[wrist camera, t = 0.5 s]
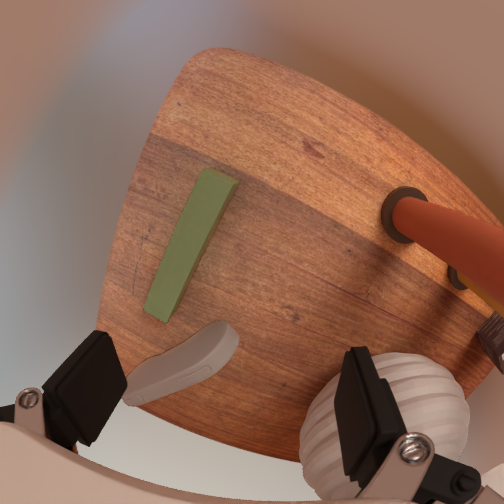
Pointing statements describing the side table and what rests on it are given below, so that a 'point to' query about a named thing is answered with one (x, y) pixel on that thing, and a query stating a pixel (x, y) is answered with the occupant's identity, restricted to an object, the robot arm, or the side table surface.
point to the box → (493, 339)
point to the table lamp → (413, 413)
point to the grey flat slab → (182, 364)
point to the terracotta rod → (448, 237)
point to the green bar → (189, 241)
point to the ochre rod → (473, 289)
